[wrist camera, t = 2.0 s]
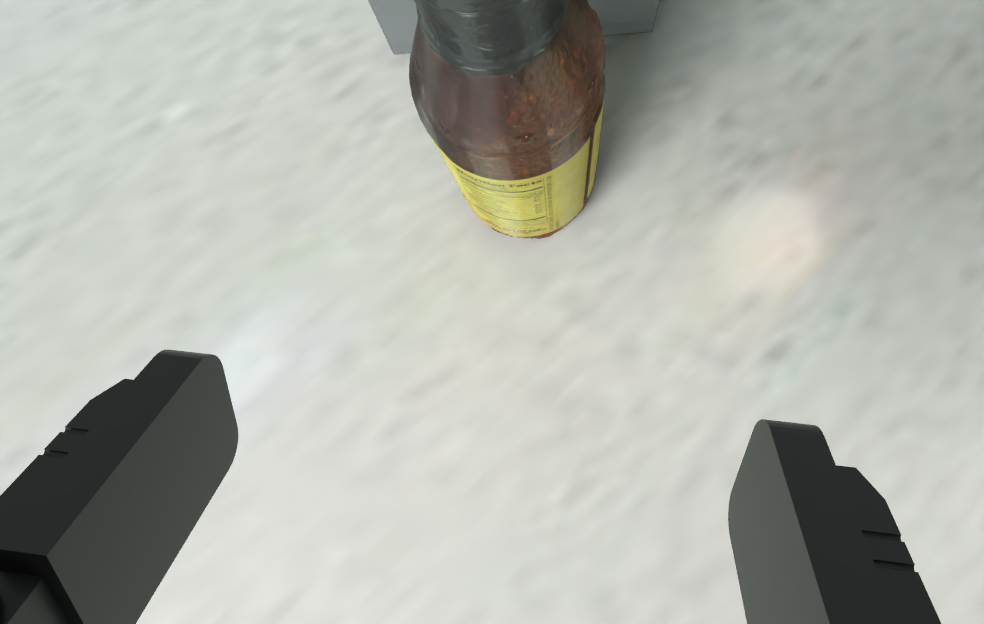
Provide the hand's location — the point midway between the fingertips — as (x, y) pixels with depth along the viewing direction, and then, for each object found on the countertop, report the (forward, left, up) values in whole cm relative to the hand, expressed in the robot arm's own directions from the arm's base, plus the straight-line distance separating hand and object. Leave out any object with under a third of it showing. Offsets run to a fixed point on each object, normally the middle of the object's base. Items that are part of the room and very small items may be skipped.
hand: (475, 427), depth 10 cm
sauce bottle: (0, -11, -21) cm, 24 cm away
